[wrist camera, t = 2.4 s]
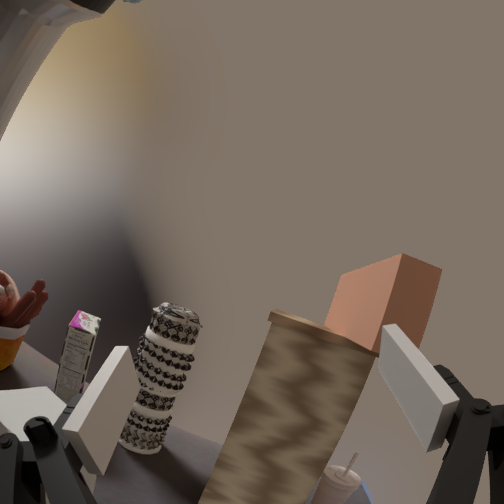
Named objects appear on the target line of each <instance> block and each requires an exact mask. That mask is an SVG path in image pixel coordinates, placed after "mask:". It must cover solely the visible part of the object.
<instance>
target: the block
mask: <svg viewBox="0 0 504 504" xmlns="http://www.w3.org/2000/svg"><path fill="white" fill-rule="evenodd" d="M441 272H442V269H440V268H438V267H435V266H433V265H430V264H427V263H425V262H423V261H421V260H418V259H416V258H413V257H410V256H408V255H406V254H403V253H401V254H399V255H396V256H393V257H391V258H388V259H385V260H382V261H379V262H377V263H374V264H371V265H368V266H366V267H363V268H360V269H357V270H354V271H351V272H348V273H346V274H343V275H341V278H340V281H339V284H338V287H337V290H336V294H335V296H334V299H333V302H332V305H331V307H330V310H329V313H328V316H327V319H326V321H325V324H324V326H326V327H327V328H329V329H331V330H333V331H335V332H337V333H338V334H340V335H342V336H344V337H346V338H348V339H350V340H352V341H353V342H355V343H357V344H359V345H361V346H363V347H365V348H367V349H368V350H370V351H373V352H376V353H380V346H381V337H382V326H384V325H390V324H396V325H397V326H398V327H399V328H400V329H401V330H402V331H403V332H404V334H405V335H406V336H407V337H408V338H409V339H410V340H411V342H412V343H413V344H414V345H415V346H416V347H417V349H419V346H420V343H421V341H422V338H423V335H424V331H425V328H426V325H427V322H428V319H429V316H430V313H431V309H432V306H433V302H434V299H435V295H436V291H437V288H438V284H439V280H440V276H441Z"/></svg>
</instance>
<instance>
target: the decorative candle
mask: <svg viewBox="0 0 504 504" xmlns="http://www.w3.org/2000/svg"><path fill="white" fill-rule="evenodd" d="M153 310H154V315H153V317H152V320H151V323H150V326H148V328H147V331H146V334H145V333H144V334H143V335H142V336H141V337H140V338H139V340H140V341H139V344H140V345H141V346H139V347H138V349H137V350H136V353H137V356H136V357H135V358H134V365H135V366H134V367H135V370H136V373H137V377H138V380H139V383H140V386H141V389H140V391H139V393H138V396H137V398H136V400H135V402H134V405H133V407H132V409H131V412H130V414H129V416H128V419H127V421H126V423H125V426H124V428H123V430H122V433H121V435H120V437H119V440H118V442H119V443H120V444H121V445H122V446H123V447H125V448H127V449H129V450H131V451H132V452H136V453H140V454H148V455H152V454H155V453H158V452H159V451H160V449H161V445H162V443H161V442H164V438H165V437H164V435H166V434H167V433H166V432H165V431H166V430H167V427H169V424H168V423H169V422H170V420H171V419H172V417H171V413H172V410H173V402H174V401H175V397H176V396H178V395H179V394H180V392H181V391H180V390H181V389H182V388H183V387H184V386H183V384H182V383H181V382H182V381H185V380H186V376H185V375H184V370H185V371H187V370H190V369H191V365H190V364H189V363H187V362H192V361H194V356H193V355H192V354H191V353H192V352H193V350H194V348H195V345H196V344H195V339H196V338H197V336H198V332H199V329H200V328H202V325H201V324H200V323H199V317H198V315H197V314H196V313H195V312H193V311H191V310H189V309H186V308H184V307H181V306H179V305H176V304H172V303H163V304H161V305H160V306H159V307H158V308H153ZM143 339H144V340H143ZM145 339H146V340H145ZM140 352H141V353H140ZM138 359H139V361H138Z"/></svg>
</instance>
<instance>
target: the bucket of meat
mask: <svg viewBox="0 0 504 504" xmlns="http://www.w3.org/2000/svg"><path fill="white" fill-rule="evenodd" d="M44 288H45V281H44V280H42V279H40V280H38V281H36V283H35V284H34V286H33V287H32V289H31V291H28V292H27V293H26V294H25V295H24V296H23V297H22V298H20V296H19V293H18V290H17V287H16V285H15V283H14V281H13V280H12V278H11V277H10V276H9V275H7V274H6V273H5V272H3V271H2V270H0V371H2V370H3V369H5V368H6V367H8V366H9V365H11V364H12V363H13V361H14V359H15V357H16V354H17V352H18V350H19V347H20V345H21V343H22V340H23V338H24V336H25V334H26V332H27V329H28V328H29V326H30V320H31V319H33V318H34V317H36V316H37V315H38V314H39V312H40V311H41V309H42V308H41V307H42V305H43V304H44V303H45V302H46V301H47V299H48V293H47V292H46V291H44Z"/></svg>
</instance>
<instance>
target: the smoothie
mask: <svg viewBox="0 0 504 504" xmlns="http://www.w3.org/2000/svg"><path fill="white" fill-rule="evenodd" d="M357 455H358V454H357V453H355V454H354V455H353V457H352V460H351V461H350V463H349V465H348V467H347V468H344V467H341V466H335V465H331V466H326V467H325V469H324V470H323V472H322V474H321V479H320V482H319V484H318V487H317V489H316V492H315V494H314V497H313V499H312V501H311V504H343V503H344V502H345V501H346V500H347V498H348V497H349V496H350V495H351V494H352V492H353V491H354V490H356V489H358V487H359V485H360V484H361V478H360V477H359V476H358V475H357V474H356V473H355V472H353V471H351V470H350V468H351V467H352V465H353V463H354V461H355V459H356V457H357Z"/></svg>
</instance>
